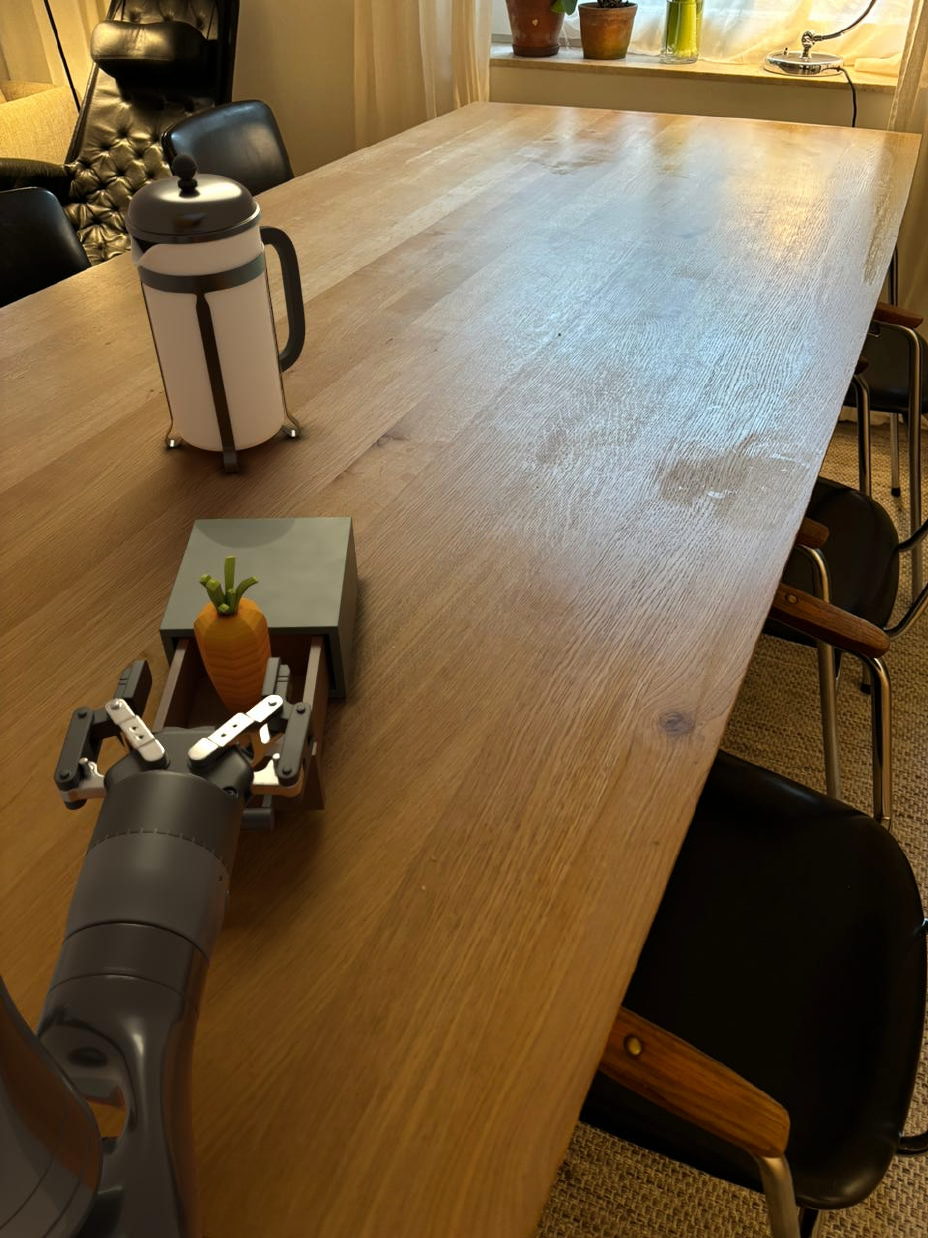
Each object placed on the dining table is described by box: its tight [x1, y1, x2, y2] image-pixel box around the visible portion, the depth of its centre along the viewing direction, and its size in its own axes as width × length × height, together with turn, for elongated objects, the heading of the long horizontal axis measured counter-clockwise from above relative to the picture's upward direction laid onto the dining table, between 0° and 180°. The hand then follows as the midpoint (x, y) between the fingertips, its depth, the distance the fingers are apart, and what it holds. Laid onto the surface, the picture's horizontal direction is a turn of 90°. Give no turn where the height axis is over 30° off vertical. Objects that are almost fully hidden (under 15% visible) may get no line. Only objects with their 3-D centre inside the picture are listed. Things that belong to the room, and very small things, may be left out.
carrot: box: [194, 556, 271, 716], centre depth 70 cm, size 5×5×15 cm
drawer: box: [150, 634, 331, 833], centre depth 72 cm, size 18×12×6 cm
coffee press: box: [123, 153, 307, 473], centre depth 102 cm, size 17×16×30 cm
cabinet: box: [158, 516, 360, 699], centre depth 83 cm, size 15×14×8 cm
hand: (210, 667), depth 64 cm, fingers open, 8 cm apart
